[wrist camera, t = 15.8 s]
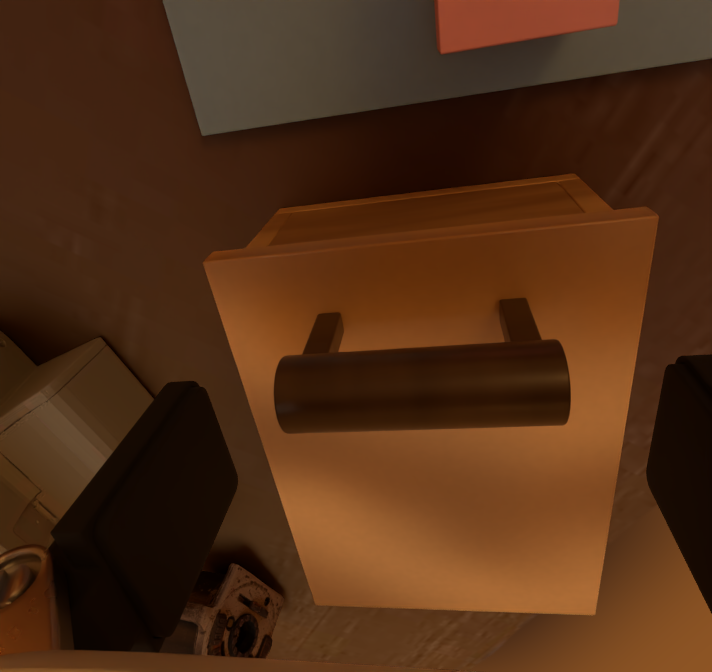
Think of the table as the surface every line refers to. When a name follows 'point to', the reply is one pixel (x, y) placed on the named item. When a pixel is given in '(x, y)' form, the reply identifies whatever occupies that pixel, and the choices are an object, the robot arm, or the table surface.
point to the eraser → (515, 20)
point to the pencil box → (431, 210)
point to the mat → (394, 55)
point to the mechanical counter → (227, 617)
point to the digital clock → (58, 432)
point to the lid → (445, 403)
